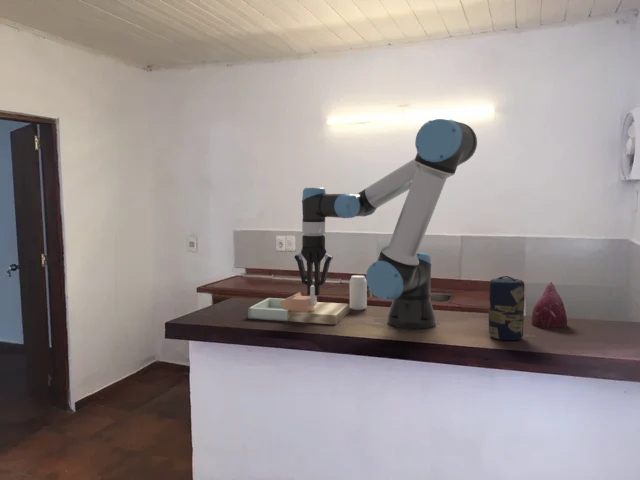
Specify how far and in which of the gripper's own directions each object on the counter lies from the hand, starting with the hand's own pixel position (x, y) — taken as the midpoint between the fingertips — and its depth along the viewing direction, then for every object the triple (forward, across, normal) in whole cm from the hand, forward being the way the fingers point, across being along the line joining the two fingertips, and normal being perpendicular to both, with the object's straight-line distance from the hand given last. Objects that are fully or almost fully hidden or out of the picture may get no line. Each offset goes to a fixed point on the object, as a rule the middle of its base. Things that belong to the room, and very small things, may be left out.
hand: (313, 305), depth 173 cm
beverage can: (+5, -11, -19) cm, 22 cm away
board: (+5, -1, -4) cm, 6 cm away
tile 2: (+3, +9, -8) cm, 12 cm away
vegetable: (+4, -74, -12) cm, 75 cm away
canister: (+4, -60, +7) cm, 61 cm away
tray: (+5, +14, -4) cm, 16 cm away
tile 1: (+2, +4, 0) cm, 4 cm away
